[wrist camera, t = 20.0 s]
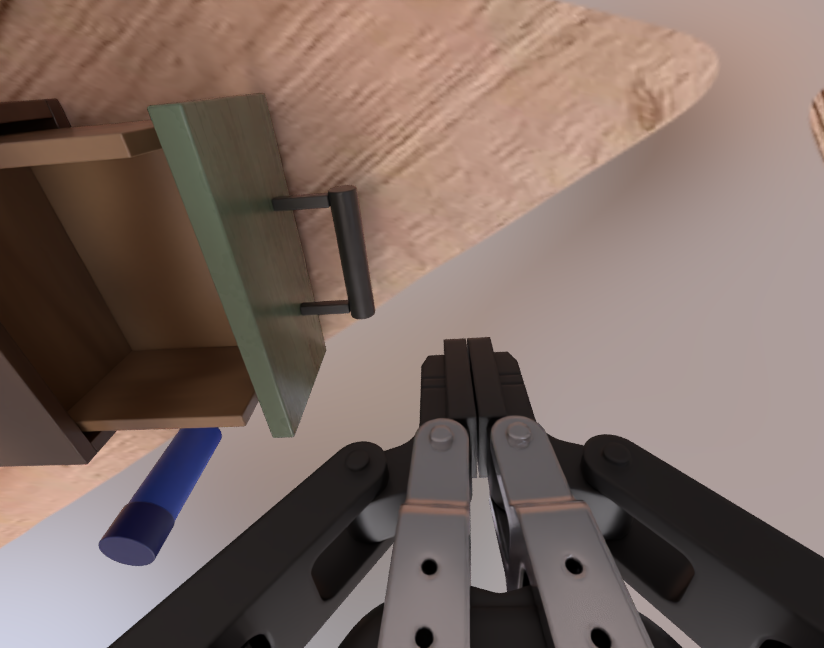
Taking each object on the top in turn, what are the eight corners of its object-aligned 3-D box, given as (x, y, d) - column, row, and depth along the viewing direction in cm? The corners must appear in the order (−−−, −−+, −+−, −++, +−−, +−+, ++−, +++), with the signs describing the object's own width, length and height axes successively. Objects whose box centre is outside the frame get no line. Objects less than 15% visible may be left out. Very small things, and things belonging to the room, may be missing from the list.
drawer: (350, 84, 19) (309, 90, 12) (387, 347, 27) (374, 435, 21) (8, 116, 20) (-194, 138, 14) (141, 358, 28) (54, 444, 22)
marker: (175, 417, 33) (87, 537, 24) (215, 416, 33) (140, 536, 24) (191, 445, 35) (114, 566, 26) (228, 444, 34) (163, 566, 26)
